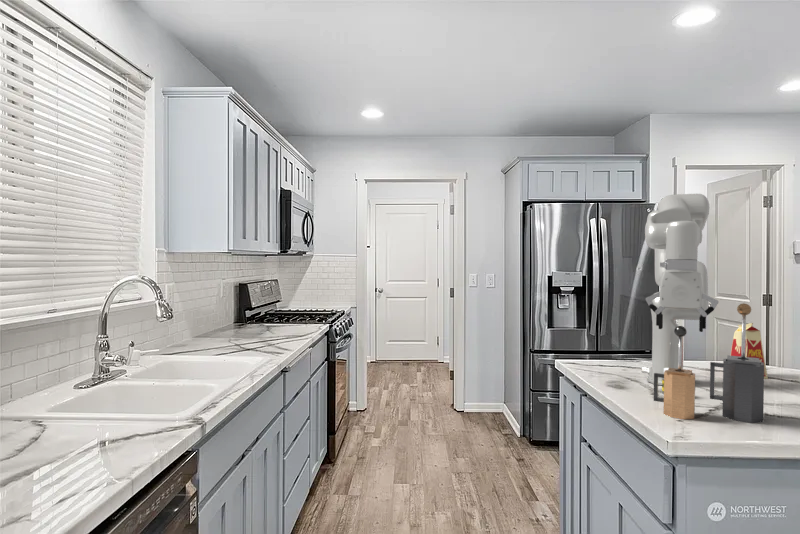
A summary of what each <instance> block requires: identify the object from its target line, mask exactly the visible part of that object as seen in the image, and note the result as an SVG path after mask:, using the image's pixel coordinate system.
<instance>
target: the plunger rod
mask: <svg viewBox="0 0 800 534" xmlns="http://www.w3.org/2000/svg"><path fill="white" fill-rule="evenodd" d="M736 311H737V313H738V314H739V315H741V325H742V345H741V359H744V360H745V348H746V324H747V316H748V315H750V314H751V312H752V307H751V305H749V304H748V303H745V302H743V303H740V304H738V305H737V308H736Z"/></svg>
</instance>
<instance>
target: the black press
mask: <svg viewBox="0 0 800 534" xmlns="http://www.w3.org/2000/svg"><path fill="white" fill-rule="evenodd" d="M722 360H723V361H722V362H713V361H710V363H709V364H710V369H709V371H710V372H709V373H710V374H709V399H711V400H717V401H722V412H721V413H722V415H721V417H723V418H726V417H727V418H726V419H729V420H731V419H732V421H734V420H736V422H741V423H748V424H755V423H757V424H759V423H764V403H765V402H764V399H765V397H764V396H765V395H764V394H765V379H764V363H763V362H760V360H759V358H751V357H745V360H744V359H741V357H740V356H731V355H728V354H727V356H726V358H723V359H722ZM716 368H722V395H720V394H715V369H716Z"/></svg>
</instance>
